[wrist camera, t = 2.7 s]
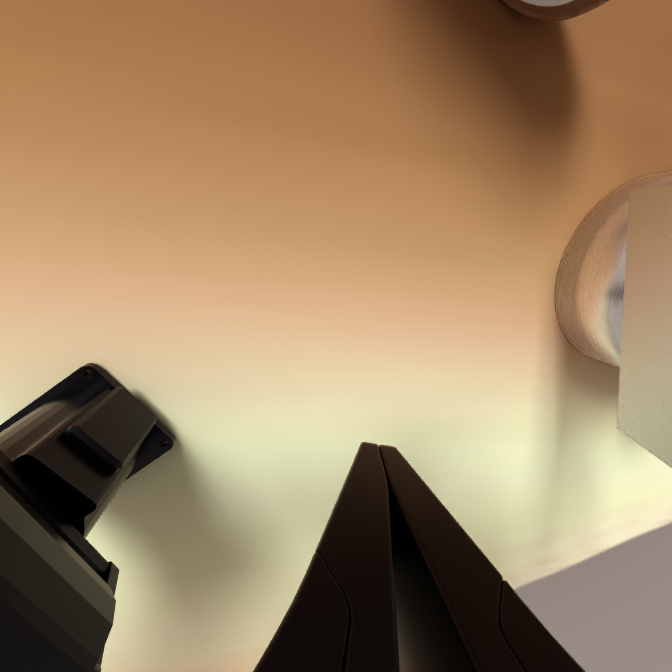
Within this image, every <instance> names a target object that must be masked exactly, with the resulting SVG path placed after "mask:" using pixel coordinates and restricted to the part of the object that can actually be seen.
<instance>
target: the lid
mask: <svg viewBox="0 0 672 672" xmlns="http://www.w3.org/2000/svg"><path fill="white" fill-rule="evenodd" d="M617 429H619V430H620V431H621V432H623V433H624V434H626V435H627V436H628V437H630V438H631V439H632V440H634V441H635V442H637V443H638V444H639V445H641V446H642V447H643V448H645V449H646V450H647V451H649V452H650V453H652V454H653V455H654V456H656V457H657V458H658V459H660V460H661V461H662V462H664V463H665V464H667V465H668V466H669V467H671V468H672V182H665V183H659V184H655V185H651V186H647V187H643V188H639V189H635V190H631V191H629V208H628V227H627V245H626V264H625V283H624V301H623V320H622V339H621V357H620V376H619V395H618V413H617Z"/></svg>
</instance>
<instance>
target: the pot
mask: <svg viewBox="0 0 672 672" xmlns="http://www.w3.org/2000/svg"><path fill="white" fill-rule="evenodd" d="M665 182H672V171H666V172H661V173H656V174H650V175H645V176H642V177H639V178H636V179H633V180H631V181H629V182H627V183H625V184H623V185H621V186H620V187H618V188H617V189H615V190H614V191H612V192H611V193H609V194H608V195H607V196H606V197H605V198H603V199H602V200H601V201H600V202H599V203H598V204H597V205H596V206H595V207H594V208H593V209H592V210H591V211H590V212H589V213H588V215H587V216H586V217H585V218H584V220H583V221H582V222H581V223H580V225H579V226H578V228H577V230H576V231H575V233H574V234H573V236H572V238H571V240H570V242H569V244H568V246H567V247H566V250H565V252H564V255H563V257H562V260H561V263H560V267H559V270H558V274H557V280H556V286H555V306H556V313H557V317H558V321H559V324H560V326H561V329H562V331H563V333H564V335H565V336H566V338H567V339H568V340H569V342H570V343H571V344H572V345H573V346H574V347H575V348H576V349H578V350H579V351H580V352H582V353H584V354H585V355H587V356H590V357H593V358H595V359H598V360H601V361H603V362H606V363H609V364H611V365H614V366H616V367H619V368H620V357H621V339H622V320H623V301H624V283H625V264H626V245H627V227H628V208H629V191H631V190H635V189H639V188H643V187H647V186H651V185H655V184H659V183H665Z"/></svg>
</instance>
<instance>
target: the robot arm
mask: <svg viewBox="0 0 672 672" xmlns="http://www.w3.org/2000/svg"><path fill="white" fill-rule="evenodd" d="M87 370H90V371H91V372H92V373H93V376H91V375H89V374H88V372H87ZM162 440H167V441H168V442H169V443H164V442H163V441H162ZM174 443H175V436H174V435H173V434H172V433H171V432H170V431H169V430H168V429H167V428H166V427H164V426H163V425H162V424H161V423H160V422H159V421H158V420H157V419H156V417H155V416H154V415H153V414H152V413H151V412H150V411H149V410H148V409H146V408H145V407H144V406H143V405H142V404H141V403H140V402H139V401H138V400H137V399H136V398H135V397H134V396H133V395H131V394H130V393H129V392H128V391H127V390H126V389H125V388H123V387H122V386H120V385H119V384H118V383H117V382H116V381H115V380H114V379H113V378H112V377H111V376H110V375H109V374H108V373H106V372H105V371H104V370H103V369H102V368H101V367H100V366H99V365H97V364H94V363H88V364H86V365H84V366H82V367H81V368H79V369H78V370H76V371H75V372H74V373H72V374H71V375H69V376H68V377H67V378H65V379H64V380H62V381H61V382H60V383H58V384H57V385H56V386H54V387H53V388H51V389H50V390H49V391H47V392H46V393H44V394H43V395H42V396H40V397H39V398H38V399H36V400H35V401H33V402H32V403H31V404H29V405H28V406H26V407H25V408H24V409H22V410H21V411H19V412H18V413H17V414H15V415H14V416H13V417H11V418H10V419H8V420H7V421H6V422H4V423H3V424H1V425H0V672H101V667H100V666H101V662H102V657H103V652H104V646H105V643H106V640H107V638H108V635H109V633H110V630H111V628H112V625H113V619H114V611H115V604H116V600H115V597H114V595H115V590H116V584H117V579H118V574H119V569H118V568H117V567H116V566H115V565H114V564H113V563H112V562H107V561H106V560H105V559H104V558H103V557H102V556H101V555H100V553H99V552H98V551H97V550H96V549H95V548H94V547H93V546H92V545H91V544H90V543H89V542H88V541H87V540H86V539H85V538H86V537H87V535H88V534H89V532H90V531H91V529H92V528H93V526H94V525H95V523H96V522H97V521H98V519H99V518H100V516H101V515H102V513H103V512H104V510H105V509H106V507H107V506H108V504H109V503H110V501H111V500H112V498H113V497H114V496H115V494H116V493H117V491H118V490H119V488H120V487H121V485H122V484H123V482H124V481H125V480H126V479H128V478H129V477H131V476H132V475H134V474H135V473H137V472H138V471H139V470H141V469H142V468H144V467H145V466H147V465H148V464H150V463H151V462H152V461H154V460H155V459H157V458H158V457H160V456H161V455H162V454H164V453H165V452H167V451H168V450H170V449H171V448H172V447H173V445H174ZM502 580H503V578H502V575H501V574H500V573H499V572H498V570H497V569H496V568H495V567H494V566H493V564H492V563H491V562H490V561H489V560H488V558H487V557H486V556H485V555H484V554H483V552H482V551H481V550H480V549H479V548H478V546H477V545H476V544H475V543H474V541H473V540H472V539H471V538H470V537H469V535H468V534H467V533H466V532H465V531H464V529H463V528H462V527H461V526H460V525H459V523H458V522H457V521H456V520H455V519H454V517H453V516H452V515H451V514H450V513H449V511H448V510H447V509H446V508H445V506H444V505H443V504H442V503H441V502H440V500H439V499H438V498H437V497H436V496H435V494H434V493H433V492H432V491H431V490H430V488H429V487H428V486H427V485H426V484H425V482H424V481H423V480H422V479H421V478H420V476H419V475H418V474H417V473H416V471H415V470H414V469H413V468H412V467H411V465H410V464H409V463H408V462H407V461H406V459H405V458H404V457H403V456H402V455H401V453H400V452H399V451H398V450H397V449H396V448H395V447H393V446H386V445H379V446H378V445H377V444H374V443H367V442H362V443H361V445H360V447H359V449H358V452H357V454H356V457H355V459H354V461H353V464H352V466H351V468H350V471H349V473H348V475H347V478H346V480H345V483H344V485H343V487H342V490H341V492H340V494H339V497H338V499H337V501H336V504H335V506H334V509H333V511H332V513H331V516H330V518H329V520H328V523H327V525H326V527H325V530H324V532H323V534H322V537H321V539H320V542H319V544H318V546H317V549H316V552H315V554H314V555H313V557H312V560H311V562H310V565H309V567H308V569H307V572H306V574H305V576H304V578H303V580H302V583H301V585H300V587H299V589H298V591H297V593H296V595H295V598H294V600H293V602H292V604H291V606H290V607H289V609H288V611H287V613H286V615H285V617H284V618H283V620H282V622H281V624H280V626H279V627H278V629H277V631H276V633H275V635H274V637H273V638H272V640H271V642H270V644H269V645H268V647H267V649H266V650H265V652H264V654H263V656H262V657H261V659H260V661H259V662H258V664H257V666H256V667H255V669H254V671H253V672H585V671H584V670H583V668H582V667H581V666H580V665H579V664H578V663H577V662H576V661H575V660H574V658H573V657H572V656H571V655H570V654H569V653H568V652H567V651H566V650H565V649H564V648H563V647H562V645H561V644H560V643H559V642H558V641H557V640H556V639H555V638H554V637H553V635H552V634H551V633H550V632H549V631H548V630H547V628H546V627H545V626H544V625H543V624H542V623H541V621H539V619H538V618H537V617H536V616H535V615H534V613H533V612H532V611H531V610H530V609H529V607H528V606H527V605H526V604H525V603H524V602H523V600H522V599H521V598H520V597H519V596H518V594H517V593H516V592H515V591H514V590H513V588H512V587H511V586H510V585H509V584H508V582H507V581H505V580H503V581H502Z"/></svg>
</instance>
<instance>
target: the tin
mask: <svg viewBox="0 0 672 672" xmlns="http://www.w3.org/2000/svg"><path fill="white" fill-rule="evenodd" d="M503 1H504V2H505V3H506V4H507V5H509V6H510V7H511V8H513V9H514V10H516V11H517V12H519V13H521V14H523V15H525V16H527V17H530V18H534V19H538V20H546V21H559V20H566V19H571V18H574V17H576V16H579V15H581V14H584V13H586V12H588V11H590V10H592V9H595V8H597V7H599V6H600V5H602V4H604V3H606V2H607V1H609V0H503Z"/></svg>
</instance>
